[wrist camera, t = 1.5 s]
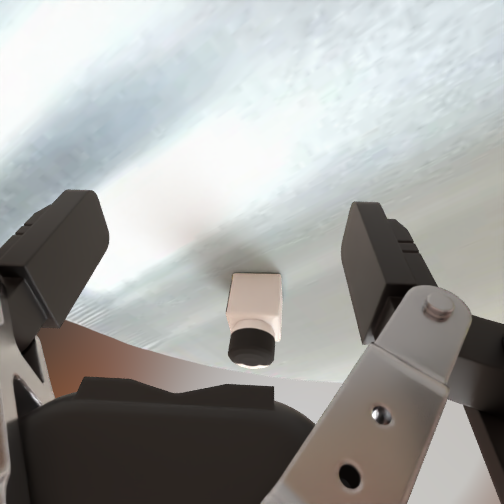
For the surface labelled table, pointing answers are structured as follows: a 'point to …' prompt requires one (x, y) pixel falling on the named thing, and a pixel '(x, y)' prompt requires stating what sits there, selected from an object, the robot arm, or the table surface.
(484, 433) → the robot arm
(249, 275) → the medicine bottle
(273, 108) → the table surface
